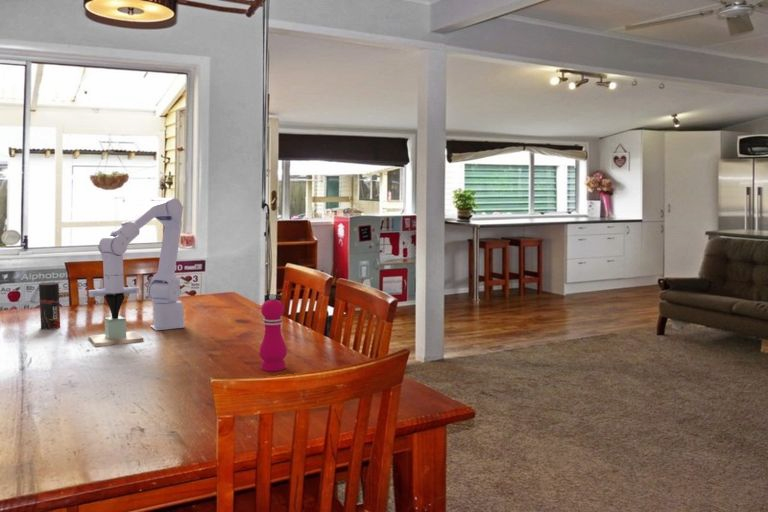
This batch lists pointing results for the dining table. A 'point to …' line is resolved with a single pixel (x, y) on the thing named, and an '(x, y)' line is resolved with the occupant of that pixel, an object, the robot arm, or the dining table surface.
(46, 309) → the deodorant
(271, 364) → the pepper mill
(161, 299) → the robot arm
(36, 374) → the dining table surface
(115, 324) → the mint green grooved cube
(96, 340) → the board
